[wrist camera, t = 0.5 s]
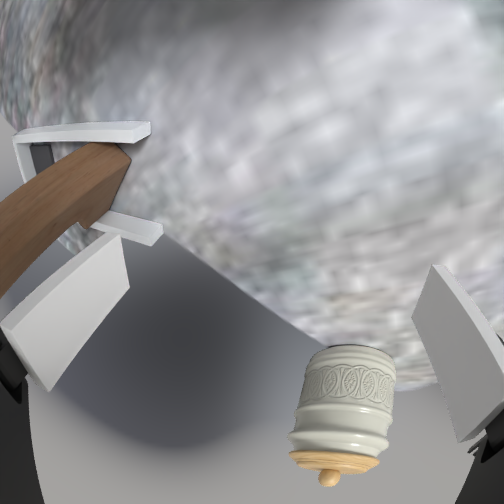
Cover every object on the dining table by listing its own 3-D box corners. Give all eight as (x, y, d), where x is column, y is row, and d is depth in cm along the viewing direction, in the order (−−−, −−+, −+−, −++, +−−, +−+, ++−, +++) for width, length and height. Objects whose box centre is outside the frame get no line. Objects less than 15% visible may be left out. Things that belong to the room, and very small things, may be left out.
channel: (24, 128, 26) (11, 136, 24) (150, 121, 21) (132, 129, 19) (43, 199, 34) (32, 208, 32) (163, 232, 29) (151, 246, 27)
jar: (297, 373, 40) (264, 476, 27) (325, 332, 31) (287, 476, 19) (370, 390, 38) (351, 491, 25) (414, 355, 29) (402, 487, 17)
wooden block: (110, 210, 30) (6, 318, 17) (86, 187, 29) (-21, 285, 16) (133, 158, 24) (-14, 284, 11) (105, 132, 23) (-44, 240, 10)
